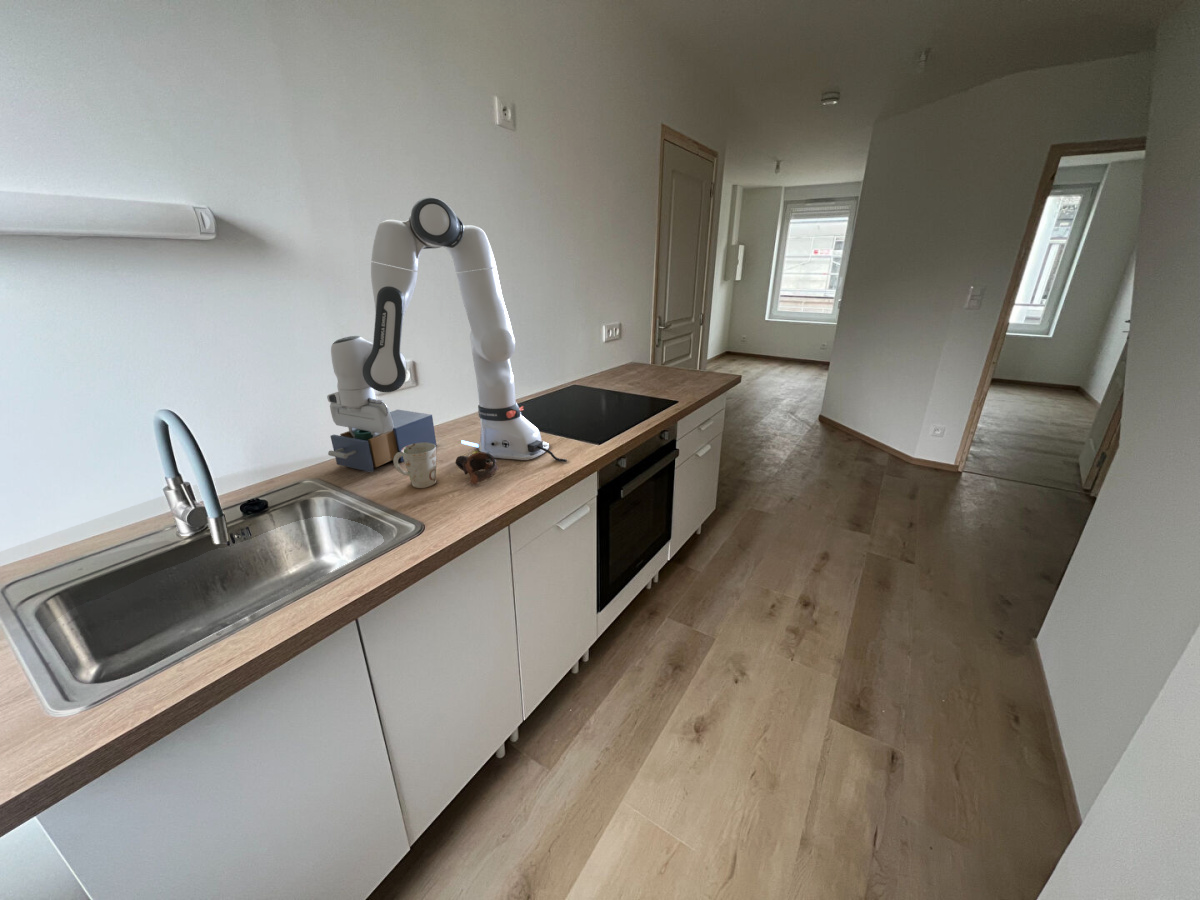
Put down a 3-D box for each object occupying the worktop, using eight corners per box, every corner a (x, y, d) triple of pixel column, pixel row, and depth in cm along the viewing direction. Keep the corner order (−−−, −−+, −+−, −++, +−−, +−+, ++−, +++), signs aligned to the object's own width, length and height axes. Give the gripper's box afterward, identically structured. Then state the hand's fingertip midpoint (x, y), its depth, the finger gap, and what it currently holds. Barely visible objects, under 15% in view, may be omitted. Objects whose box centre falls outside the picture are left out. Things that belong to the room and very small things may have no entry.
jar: (383, 450, 132) (379, 429, 130) (367, 456, 128) (363, 434, 125) (369, 447, 134) (365, 426, 132) (354, 453, 130) (349, 432, 127)
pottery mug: (502, 471, 128) (503, 453, 122) (491, 498, 122) (490, 480, 115) (462, 459, 128) (460, 441, 122) (448, 486, 122) (445, 467, 115)
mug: (430, 491, 115) (424, 455, 112) (386, 487, 118) (379, 451, 114) (446, 477, 123) (441, 443, 119) (405, 474, 125) (399, 440, 122)
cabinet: (401, 462, 133) (395, 428, 129) (366, 454, 139) (359, 422, 135) (436, 446, 146) (432, 414, 142) (402, 439, 151) (397, 409, 147)
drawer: (357, 478, 121) (350, 447, 118) (323, 470, 126) (315, 440, 123) (408, 455, 136) (403, 427, 133) (375, 448, 141) (370, 422, 138)
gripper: (394, 397, 124) (402, 445, 129) (342, 390, 131) (352, 435, 136) (375, 403, 118) (384, 452, 123) (322, 395, 126) (333, 441, 131)
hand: (367, 443), depth 130 cm, fingers closed on jar, 5 cm apart
